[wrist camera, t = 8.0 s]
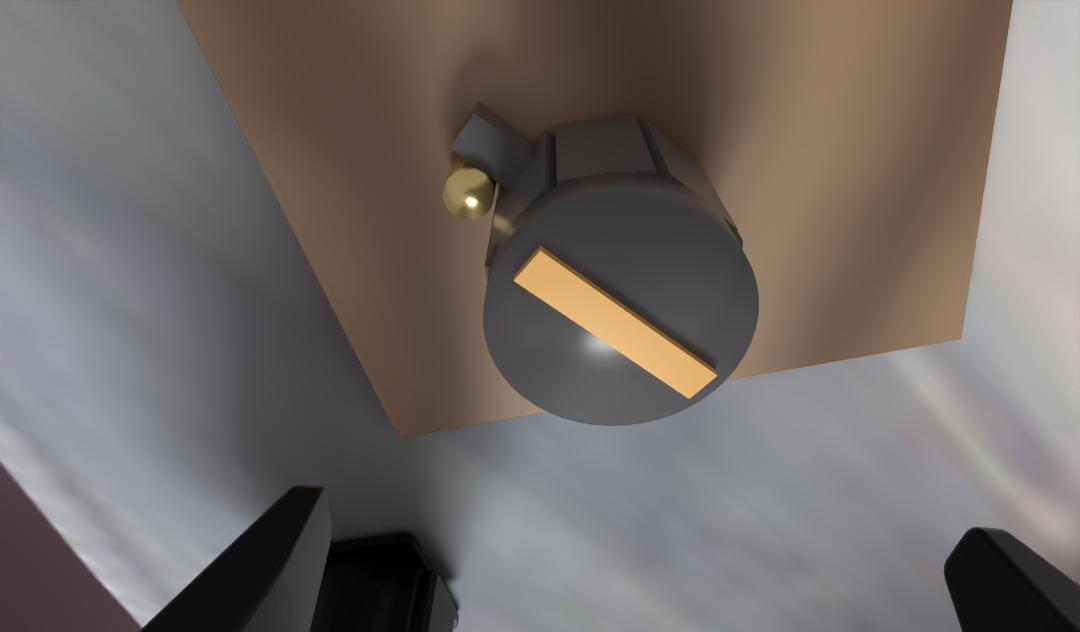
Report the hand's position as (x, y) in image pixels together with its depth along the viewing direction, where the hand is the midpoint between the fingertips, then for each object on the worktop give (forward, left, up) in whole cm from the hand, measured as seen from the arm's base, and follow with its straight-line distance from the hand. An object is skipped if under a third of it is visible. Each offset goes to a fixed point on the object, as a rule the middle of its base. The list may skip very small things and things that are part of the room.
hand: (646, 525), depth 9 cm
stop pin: (-3, +2, -11) cm, 11 cm away
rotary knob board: (+1, +1, -11) cm, 11 cm away
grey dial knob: (0, +1, -9) cm, 9 cm away
